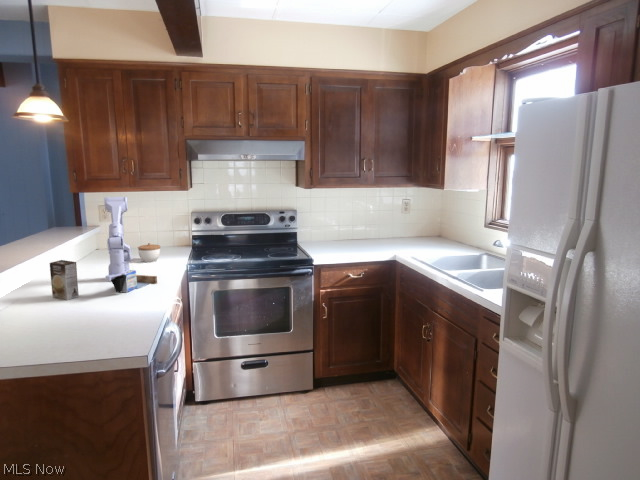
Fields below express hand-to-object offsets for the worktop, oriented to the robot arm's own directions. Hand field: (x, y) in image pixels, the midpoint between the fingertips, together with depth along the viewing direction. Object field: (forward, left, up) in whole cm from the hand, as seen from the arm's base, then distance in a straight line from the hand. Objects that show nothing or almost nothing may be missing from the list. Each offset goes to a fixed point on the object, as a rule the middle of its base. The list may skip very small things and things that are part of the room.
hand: (119, 291), depth 198 cm
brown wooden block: (0, +15, -1) cm, 15 cm away
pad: (0, +15, -1) cm, 15 cm away
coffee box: (-20, -9, -1) cm, 22 cm away
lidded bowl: (-24, +65, -1) cm, 69 cm away
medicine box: (0, +7, -1) cm, 7 cm away
